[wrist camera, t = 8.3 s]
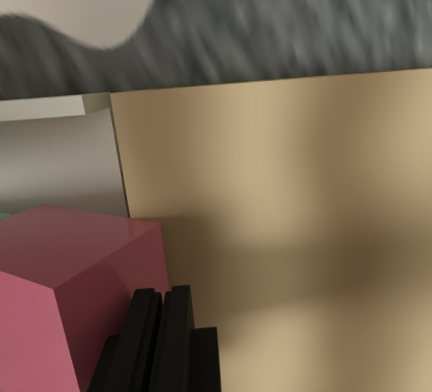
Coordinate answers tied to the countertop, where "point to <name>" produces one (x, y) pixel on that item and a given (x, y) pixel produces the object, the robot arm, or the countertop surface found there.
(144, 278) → the pink toy cube
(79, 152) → the tray
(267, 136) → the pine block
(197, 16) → the countertop surface
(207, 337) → the robot arm
